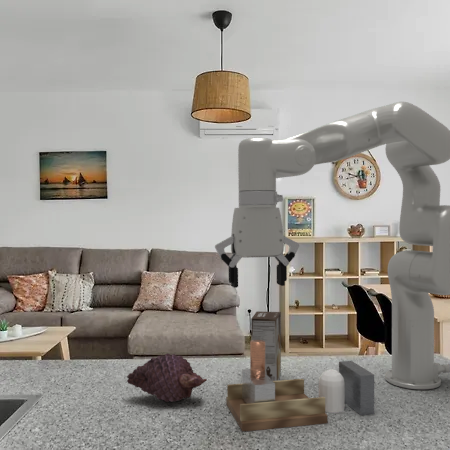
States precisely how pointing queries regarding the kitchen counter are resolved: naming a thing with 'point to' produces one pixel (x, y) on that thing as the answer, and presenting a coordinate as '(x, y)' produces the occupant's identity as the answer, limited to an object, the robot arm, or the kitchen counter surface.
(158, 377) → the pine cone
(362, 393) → the gray rectangular block
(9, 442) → the kitchen counter surface
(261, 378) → the ram
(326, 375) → the capsule
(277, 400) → the base
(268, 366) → the coffee box
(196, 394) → the kitchen counter surface
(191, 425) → the kitchen counter surface
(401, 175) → the robot arm
